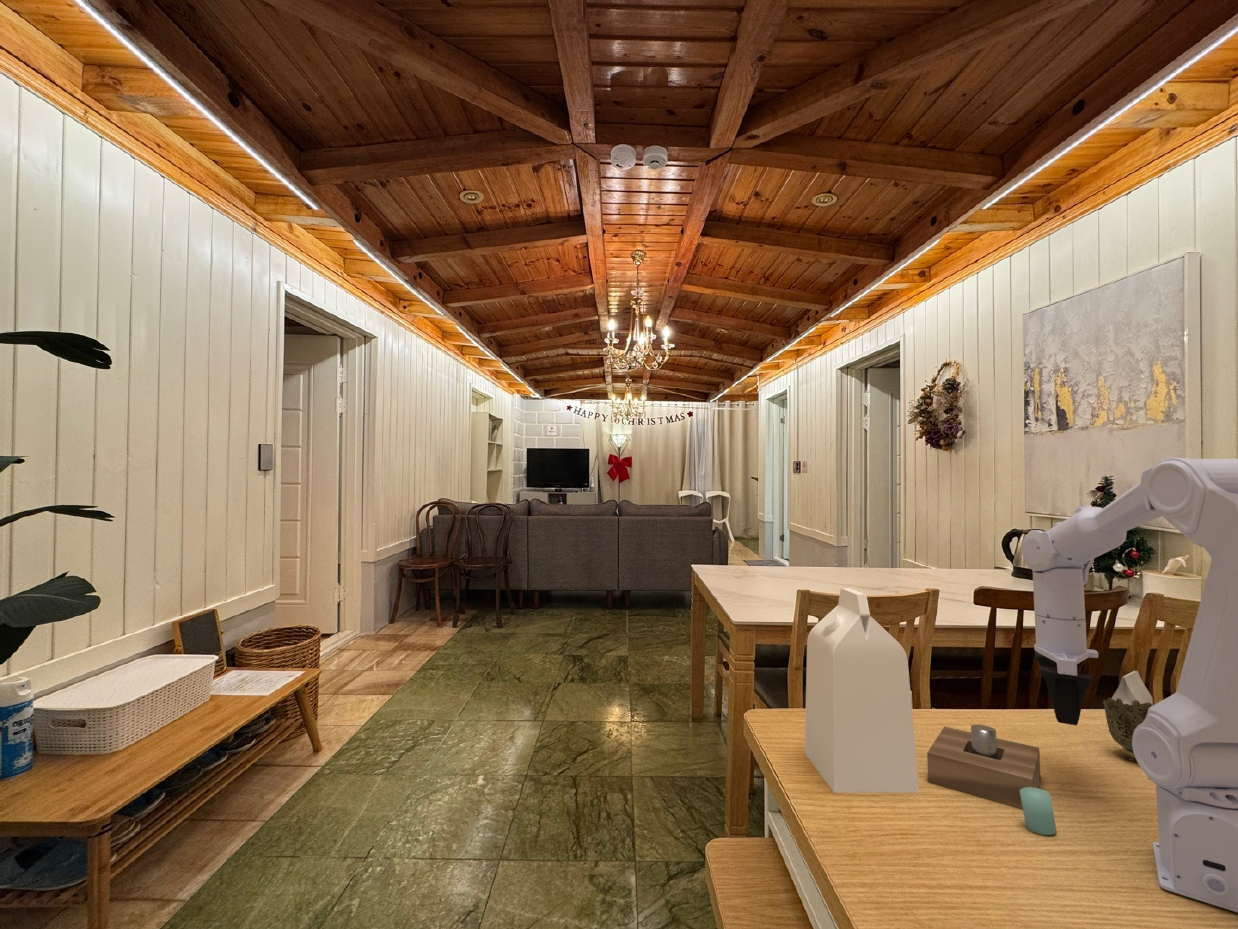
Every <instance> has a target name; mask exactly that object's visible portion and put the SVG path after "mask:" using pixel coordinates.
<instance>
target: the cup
mask: <svg viewBox="0 0 1238 929" xmlns="http://www.w3.org/2000/svg"><path fill="white" fill-rule="evenodd" d="M1111 698H1112V697H1111ZM1111 698H1110V697H1108V698H1107V699H1106V700H1105V699H1103V706H1104V712H1105V718H1106V719H1105V720H1106V722H1107V723H1106V724H1107V728H1108V730H1109V734H1110V736H1111V737H1112V739H1113V740H1114V741H1115V742H1116V743H1117V744H1118V745H1119V746H1121V747H1122V748H1121V752H1122V755H1123V757H1125V758H1126V759H1128V760H1130V761H1133V762H1136V763H1138V762H1137V760H1136V758H1135V755H1134V752H1133V748H1132V737H1133V733H1134V731H1135V729H1136V727H1137V726H1138V725H1140V724H1141V723H1143V721H1144V720H1145V718H1146V716H1147V712H1148V709H1149V708H1150V707H1152V706H1153V705H1154V704H1153V705H1152V704H1151V703H1143V704H1140V702H1139V701H1138V700H1133V701H1132V703H1133V704H1132V703H1131V704H1132V705H1129V704H1127V703H1125V704H1123V702H1122V700H1121V699H1119V698H1117V699H1116V701H1115V700H1113V699H1111Z"/></svg>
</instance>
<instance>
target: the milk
mask: <svg viewBox="0 0 1238 929" xmlns="http://www.w3.org/2000/svg"><path fill="white" fill-rule="evenodd" d="M870 612H871V611H870V607H869V602H868V595H867V594H866V593H863V592H860V591H858V590H855V589H852V588H850V587H847V588H846V587H840V592H839V597H838V603H837V605H836V606H835V607H834V608H833V609H831V611H829V612H828V613H827V614H826V615H825V616H824V617H823V618H822V619H820V620H819V621H818V622H817V623H816V624H815V625H814V626H813V627H812V628H811V630H810V631H809V633H808V636H807V641H806V643H807V644H806V675H805V676H806V677H805V679H806V680H805V681H806V683H805V684H806V685H805V719H804V721H805V723H804V726H805V727H804V754H805V756H806V757H807V759H808V760H809V761H810V763H811V764H812V765H813V766H814V768H815V769H816V771H817V772H818V773H819V775H820V777H822V778H823V780H824V782H825V783H826V784H827V785H828V787H829V788H830V789H831V790H832V792H833V793H834V794H880V793H881V794H884V793H885V794H889V793H890V794H892V793H894V794H899V793H900V794H901V793H902V794H905V793H906V794H907V793H908V794H909V793H910V794H913V793H915V794H916V793H920V789H919V788H920V787H919V779H918V778H919V777H918V767H917V766H918V765H917V764H918V763H917V754H916V742H915V731H914V728H915V727H914V719H913V706H912V693H911V683H910V673H909V660H908V656H907V653H906V651H905V649H904V647H903V646H902V645H901V644H900V642H898V640H897V639H896V638H895V637H893V636H892V635H891V634H890V633H889V632H888V631H887V630H886V629H885V628H884V627H883V626H882V625H881V624H880V623H879V622H877V621H876V619H875V618H873V617H872V616H871V613H870Z"/></svg>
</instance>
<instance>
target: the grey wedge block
mask: <svg viewBox="0 0 1238 929" xmlns="http://www.w3.org/2000/svg"><path fill="white" fill-rule="evenodd" d="M1117 698H1119V699H1121V700H1122V702H1123V704H1125V703H1127V704H1129V705H1132V704H1133V703H1132V701H1133V700H1138V701H1139V702H1140V704H1143V703H1151V704H1152V705H1154V704H1153V703H1154V702H1153V696H1152V695H1151V693H1150V691H1149V690H1148V688H1147V686H1145V683H1144V682H1143V680H1142V678H1141V676H1140V673H1139V671H1138V670H1133V671H1131V672H1130V673H1128V674H1125V675H1123V676H1122V677H1121V679H1120V683H1119V685H1118V687H1117V689H1116V690H1115V692H1114V693H1113V695H1112V697H1111V699H1113V700H1115V701H1116V699H1117ZM1131 703H1132V704H1131Z"/></svg>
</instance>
